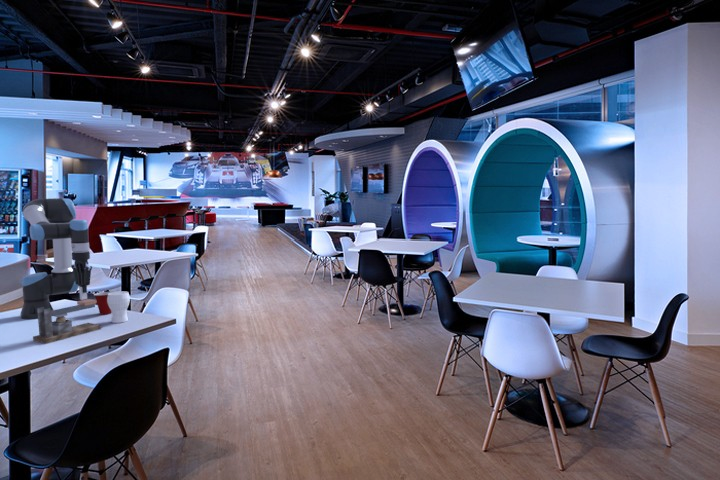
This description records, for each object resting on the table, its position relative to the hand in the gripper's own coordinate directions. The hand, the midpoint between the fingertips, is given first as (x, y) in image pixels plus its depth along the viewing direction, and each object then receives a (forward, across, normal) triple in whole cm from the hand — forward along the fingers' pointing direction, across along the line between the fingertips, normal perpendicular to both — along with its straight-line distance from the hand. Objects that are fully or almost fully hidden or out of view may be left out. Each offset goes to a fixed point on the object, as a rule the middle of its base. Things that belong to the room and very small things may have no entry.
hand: (83, 299), depth 232 cm
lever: (+6, 0, -7) cm, 9 cm away
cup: (+16, 0, +18) cm, 24 cm away
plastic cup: (+16, -22, +25) cm, 37 cm away
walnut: (+8, 0, -12) cm, 14 cm away
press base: (+16, 0, -9) cm, 18 cm away
